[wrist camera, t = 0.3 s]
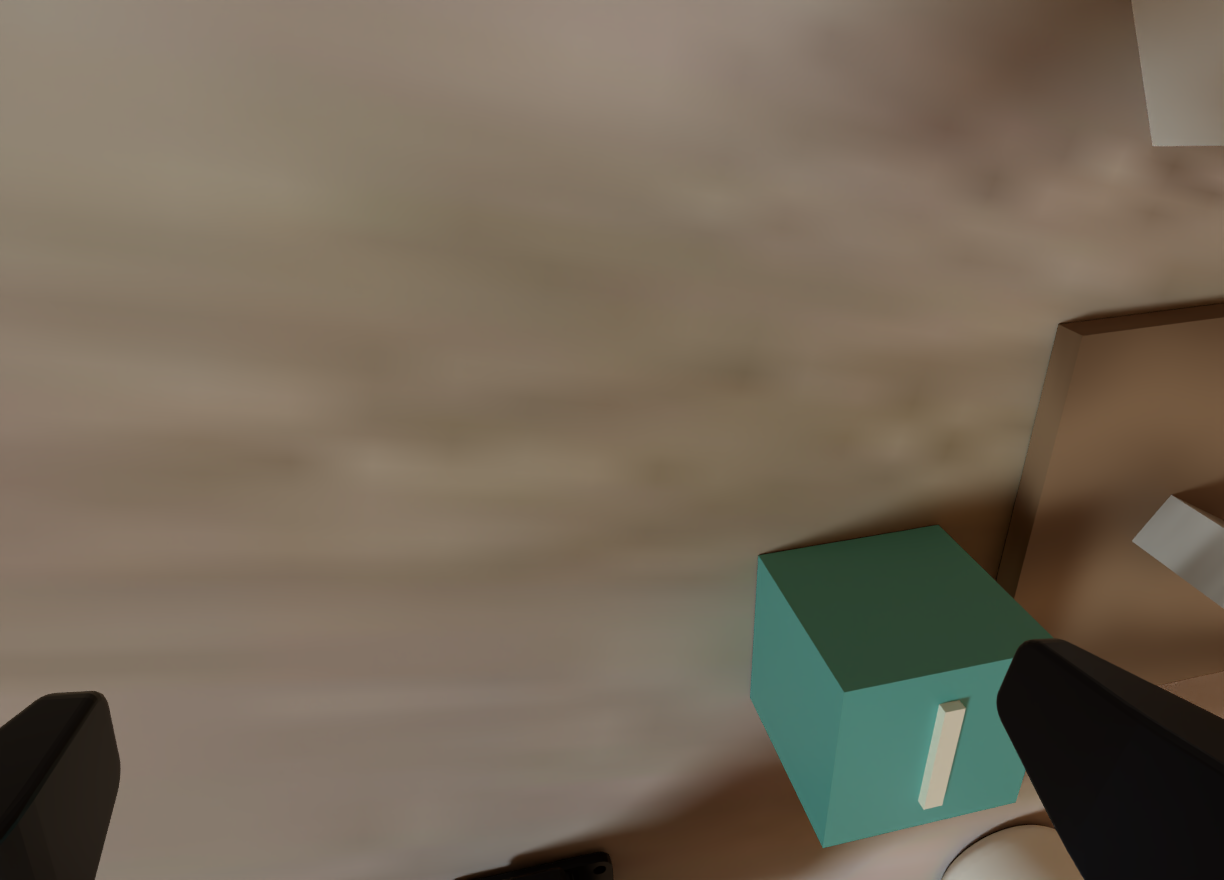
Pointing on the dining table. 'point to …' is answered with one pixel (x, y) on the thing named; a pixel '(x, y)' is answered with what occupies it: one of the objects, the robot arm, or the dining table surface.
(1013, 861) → the water bottle
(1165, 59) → the grater
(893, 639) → the teal drawer cube
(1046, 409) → the keyed post base
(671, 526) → the dining table surface
